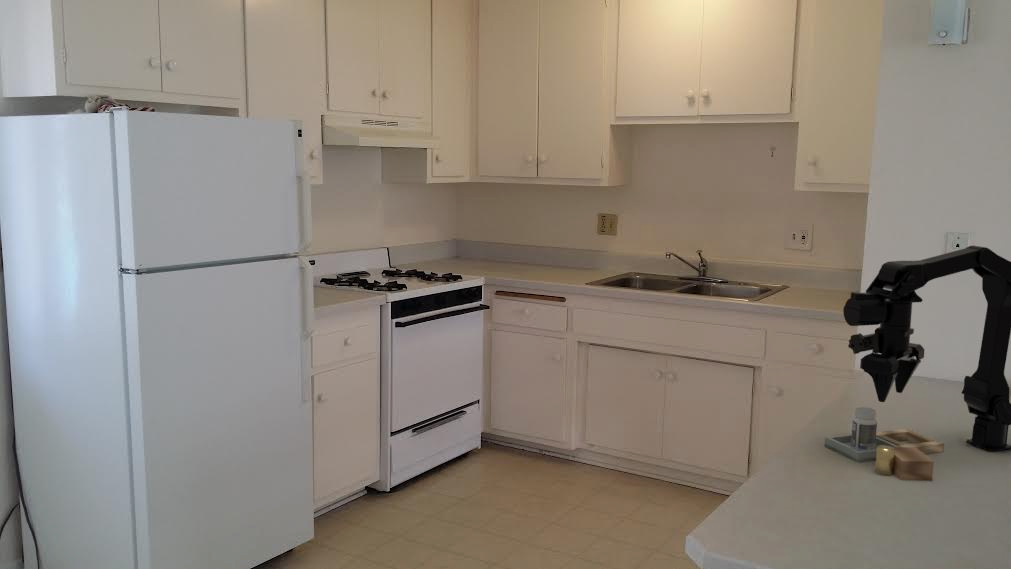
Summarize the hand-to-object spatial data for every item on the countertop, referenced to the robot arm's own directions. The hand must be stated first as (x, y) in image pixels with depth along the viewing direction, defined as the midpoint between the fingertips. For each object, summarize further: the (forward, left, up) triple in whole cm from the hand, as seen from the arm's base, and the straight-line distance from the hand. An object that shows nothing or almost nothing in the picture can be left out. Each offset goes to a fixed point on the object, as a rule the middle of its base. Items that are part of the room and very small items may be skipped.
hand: (890, 397), depth 177 cm
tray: (+5, -2, -12) cm, 13 cm away
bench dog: (+9, +9, -12) cm, 18 cm away
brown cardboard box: (+5, +11, -12) cm, 17 cm away
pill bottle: (+5, -2, -12) cm, 12 cm away
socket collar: (-7, -2, -12) cm, 14 cm away
